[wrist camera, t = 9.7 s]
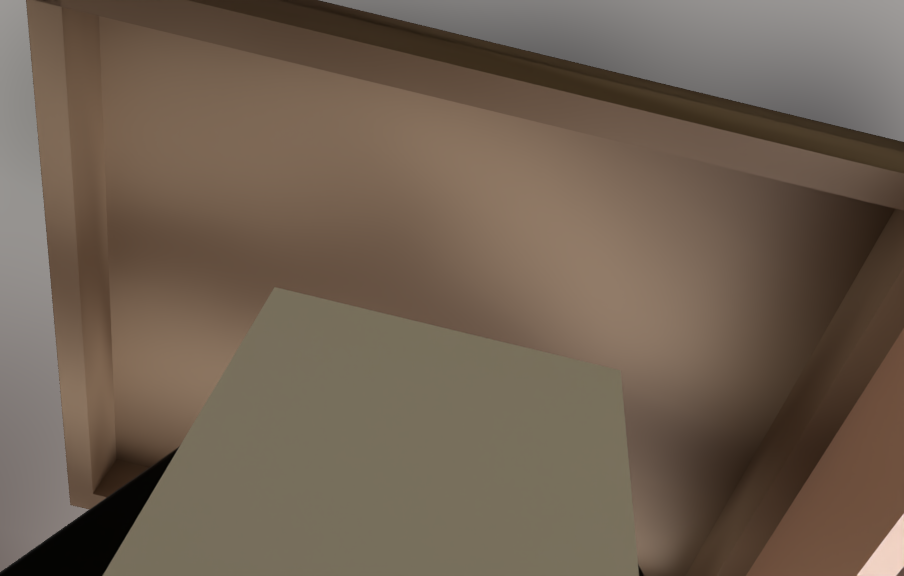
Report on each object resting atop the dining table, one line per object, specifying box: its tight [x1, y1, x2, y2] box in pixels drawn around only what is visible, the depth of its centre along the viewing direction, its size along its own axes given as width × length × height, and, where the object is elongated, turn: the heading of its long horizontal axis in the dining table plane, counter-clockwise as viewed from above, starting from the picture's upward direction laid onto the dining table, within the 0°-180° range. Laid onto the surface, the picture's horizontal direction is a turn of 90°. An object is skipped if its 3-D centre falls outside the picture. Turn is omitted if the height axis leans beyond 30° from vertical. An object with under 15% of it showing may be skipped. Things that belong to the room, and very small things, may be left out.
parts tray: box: [26, 0, 904, 576], centre depth 17 cm, size 13×16×2 cm
